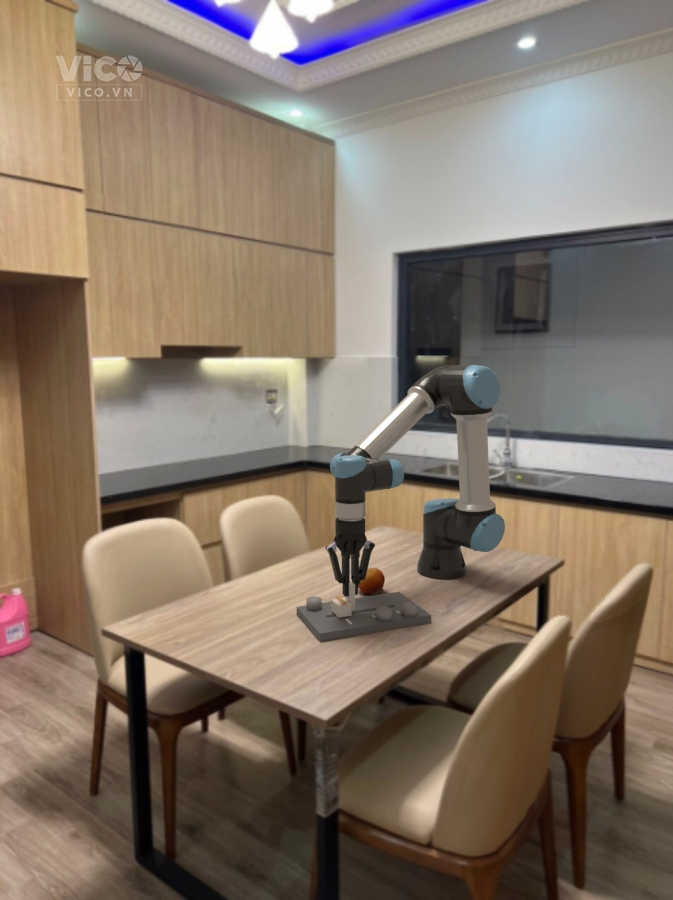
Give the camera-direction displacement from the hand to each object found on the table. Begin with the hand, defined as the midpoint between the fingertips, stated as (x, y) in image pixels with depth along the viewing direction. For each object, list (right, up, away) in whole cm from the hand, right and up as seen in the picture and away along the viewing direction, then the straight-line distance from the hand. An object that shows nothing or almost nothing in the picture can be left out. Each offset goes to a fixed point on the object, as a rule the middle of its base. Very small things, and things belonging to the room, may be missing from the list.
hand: (350, 607), depth 165 cm
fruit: (+6, -1, +21) cm, 22 cm away
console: (+3, -3, +2) cm, 5 cm away
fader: (-2, -2, -1) cm, 3 cm away
